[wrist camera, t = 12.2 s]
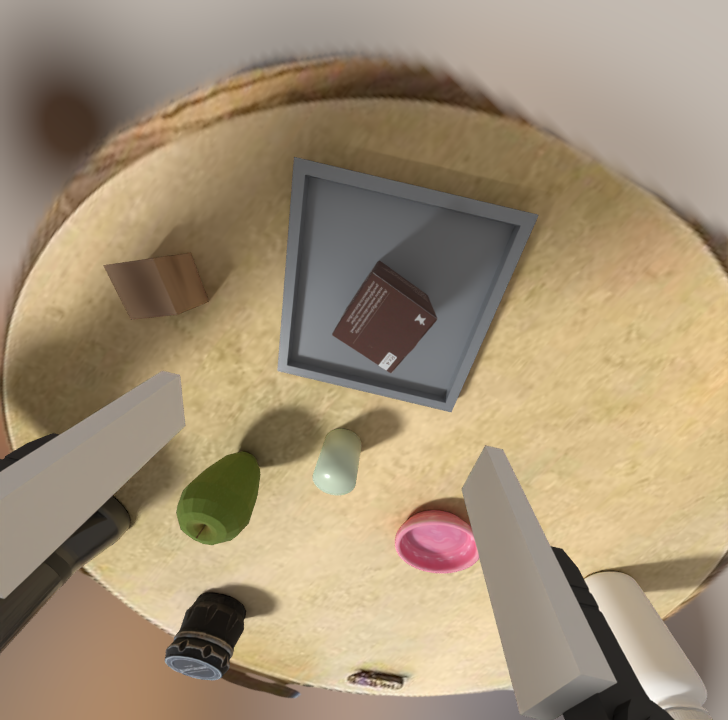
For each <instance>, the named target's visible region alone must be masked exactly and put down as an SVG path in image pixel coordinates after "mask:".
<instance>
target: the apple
mask: <svg viewBox="0 0 728 720" xmlns="http://www.w3.org/2000/svg"><path fill="white" fill-rule="evenodd" d="M259 481H260V468H259V466H258V463H257V461H256V459H255V457H254V456H253V455H251V454H249V453H247V452H244V451H242V452H238V453H234V454H230V455H227V456H225V457H224V458H222V459H221V460H219V461H218V462H216V463H215V464H213V465H212V466H210V467H209V468H207V469H206V470H204V471H203V472H202V473H201V474H200V475H199V476H198V477H197V478H195V479H194V480H193V481H192V482H191V483H190V484H189V485H188V486H187V487H186V488H185V489H184V490H183V492H182V495H181V498H180V500H179V503H178V506H177V512H176V513H177V518H178V522H179V525H180V528H181V530H182V531H183V532H184V533H185V534H186V535H188V536H189V537H191V538H192V539H194V540H196V541H198V542H200V543H202V544H208V545H214V544H218V543H222V542H226V541H231V540H232V539H233V538H235V537H236V536H237V535H238V534H239V533H240V532H241V531H242V530H243V529H244V528H245V527H246V526H247V525H248V524H249V521H250V518H251V515H252V511H253V508H254V505H255V502H256V499H257V496H258V488H259Z"/></svg>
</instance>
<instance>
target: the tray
mask: <svg viewBox="0 0 728 720" xmlns="http://www.w3.org/2000/svg"><path fill="white" fill-rule="evenodd" d="M537 218H538V215H537V214H533V213H529V212H525V211H520V210H516V209H512V208H508V207H503V206H499V205H495V204H491V203H487V202H482V201H478V200H474V199H470V198H466V197H461V196H457V195H453V194H449V193H444V192H440V191H436V190H432V189H428V188H423V187H419V186H415V185H411V184H406V183H402V182H398V181H394V180H390V179H385V178H381V177H377V176H373V175H369V174H364V173H360V172H356V171H352V170H347V169H343V168H339V167H335V166H331V165H326V164H322V163H318V162H314V161H309V160H305V159H301V158H297V157H294V165H293V178H292V191H291V204H290V217H289V230H288V243H287V255H286V268H285V281H284V294H283V307H282V320H281V333H280V346H279V358H278V371H280V372H284V373H289V374H293V375H297V376H301V377H305V378H310V379H314V380H318V381H322V382H326V383H331V384H335V385H339V386H343V387H347V388H352V389H356V390H360V391H364V392H368V393H373V394H377V395H381V396H385V397H389V398H394V399H398V400H402V401H406V402H410V403H415V404H419V405H423V406H427V407H431V408H436V409H440V410H444V411H448V412H452V409H453V407H454V405H455V403H456V400H457V398H458V396H459V394H460V391H461V389H462V387H463V385H464V382H465V380H466V378H467V376H468V373H469V371H470V369H471V367H472V364H473V362H474V360H475V358H476V355H477V353H478V351H479V349H480V346H481V344H482V342H483V340H484V337H485V335H486V333H487V331H488V328H489V326H490V324H491V321H492V319H493V317H494V315H495V312H496V310H497V308H498V306H499V303H500V301H501V299H502V297H503V294H504V292H505V290H506V288H507V285H508V283H509V281H510V279H511V276H512V274H513V272H514V270H515V267H516V265H517V263H518V261H519V258H520V256H521V254H522V252H523V249H524V247H525V245H526V243H527V240H528V238H529V236H530V233H531V231H532V229H533V227H534V224H535V222H536V220H537ZM378 261H381V262H382V263H384V264H385V265H387V266H388V267H390V268H391V269H392V270H394V271H395V272H396V273H398V274H399V275H401V276H402V277H403V278H405V279H406V280H408V281H409V282H410V283H412V284H413V285H415V286H416V287H417V288H419V289H420V290H421V291H423V292H424V293H426V294H427V295H428V297H429V299H430V302H431V304H432V307H433V309H434V311H435V313H436V316H437V321H436V322H435V323H434V324H433V326H432V327H431V328H430V329H429V330H428V331H427V333H426V334H425V335H424V336H423V337H422V338H421V340H420V341H419V342H418V344H417V345H416V347H415V348H414V349H413V350H412V351H411V352H410V353H409V354H408V355H407V356H406V357H405V358H404V360H403V361H402V362H401V363H400V364H399V366H398V367H397V368H396V369H395V370H394V372H393V373H389V372H388V371H386V370H385V369H383V368H381V367H380V366H378V365H377V364H375V363H374V362H372V361H371V360H369V359H368V358H366V357H365V356H363V355H362V354H360V353H359V352H357V351H355V350H354V349H352V348H351V347H349V346H348V345H346V344H345V343H343V342H341V341H340V340H338V339H337V338H335V337H334V336H332V333H333V331H334V330H335V328H336V326H337V324H338V323H339V321H340V319H341V317H342V315H343V314H344V312H345V310H346V308H347V307H348V305H349V304H350V302H351V301H352V299H353V297H354V296H355V294H356V293H357V291H358V290H359V288H360V287H361V285H362V283H363V282H364V281H365V279H366V278H367V276H368V275H369V273H370V272H371V271H372V269H373V267H374V266H375V265H376V263H377V262H378Z"/></svg>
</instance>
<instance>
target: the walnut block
mask: <svg viewBox="0 0 728 720" xmlns="http://www.w3.org/2000/svg"><path fill="white" fill-rule="evenodd" d="M103 266H104V268H105V269H106V271H107V273H108V275H109V277H110V279H111V281H112V283H113V285H114V287H115V289H116V291H117V293H118V295H119V297H120V299H121V301H122V303H123V305H124V307H125V309H126V311H127V313H128V315H129V317H130V319H131V320H132V319H141V318H150V317H160V316H169V315H177V314H180V313H182V312H185V311H187V310H189V309H192V308H194V307H197V306H199V305H202V304H204V303H206V302H209V301H208V298H207V295H206V292H205V290H204V287H203V284H202V282H201V279H200V276H199V274H198V271H197V268H196V265H195V263H194V260H193V257H192V255H191V253H187V254H180V255H172V256H165V257H158V258H151V259H144V260H137V261H130V262H123V263H116V264H110V265H103Z"/></svg>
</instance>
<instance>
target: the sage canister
mask: <svg viewBox="0 0 728 720" xmlns="http://www.w3.org/2000/svg"><path fill="white" fill-rule="evenodd" d="M361 447H362V443H361V440H360V438H359V437H358V435H357V434H355V433H354V432H352V431H350V430H347V429H335V430H332V431H330V432H329V433H328V434H327V435H326V437H325V440H324V443H323V446H322V449H321V452H320V455H319V458H318V461H317V464H316V467H315V470H314V473H313V481H314V483H315V485H316V486H317V487H318V488H319V489H320V490H322V491H323V492H325V493H328V494H331V495H344V494H347V493H349V492H351V491H352V490H353V489H354V487H355V484H356V478H357V472H358V465H359V459H360V453H361Z"/></svg>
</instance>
